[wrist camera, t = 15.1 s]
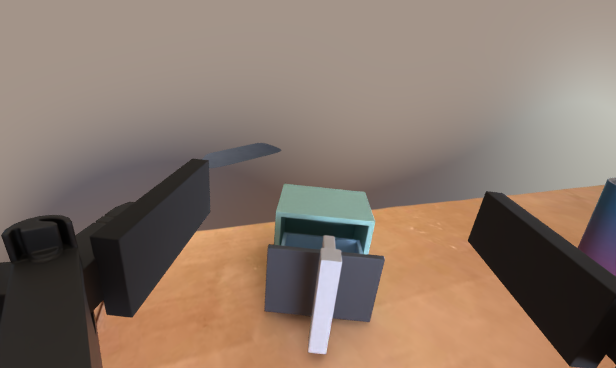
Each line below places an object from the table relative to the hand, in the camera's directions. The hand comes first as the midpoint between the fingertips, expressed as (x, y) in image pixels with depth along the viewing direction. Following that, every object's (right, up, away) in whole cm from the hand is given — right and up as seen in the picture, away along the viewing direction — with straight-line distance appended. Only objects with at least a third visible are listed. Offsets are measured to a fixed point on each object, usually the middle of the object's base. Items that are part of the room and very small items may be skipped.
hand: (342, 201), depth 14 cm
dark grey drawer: (-1, -12, +17) cm, 21 cm away
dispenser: (0, -9, +25) cm, 27 cm away
